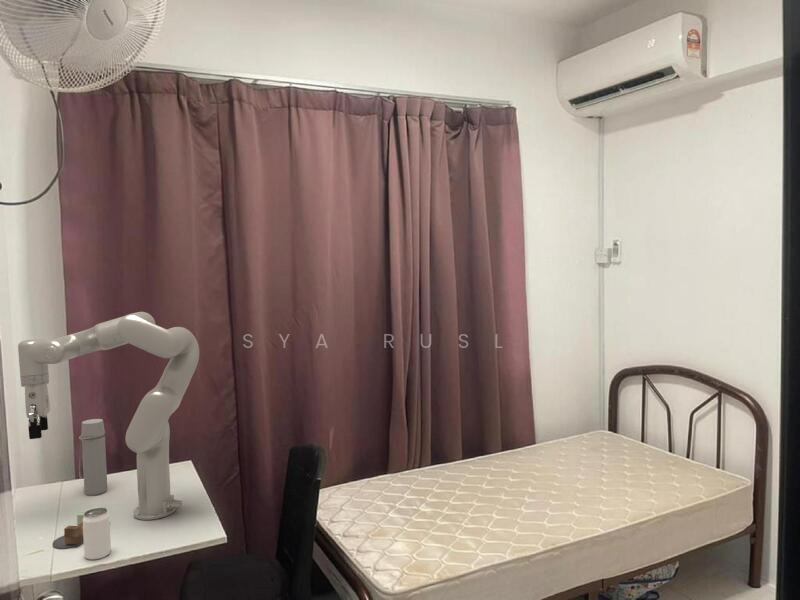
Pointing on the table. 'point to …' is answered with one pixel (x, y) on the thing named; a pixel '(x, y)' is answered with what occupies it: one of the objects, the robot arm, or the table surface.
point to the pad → (60, 543)
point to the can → (96, 534)
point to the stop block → (80, 517)
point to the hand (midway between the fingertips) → (39, 434)
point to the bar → (73, 534)
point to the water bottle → (93, 457)
